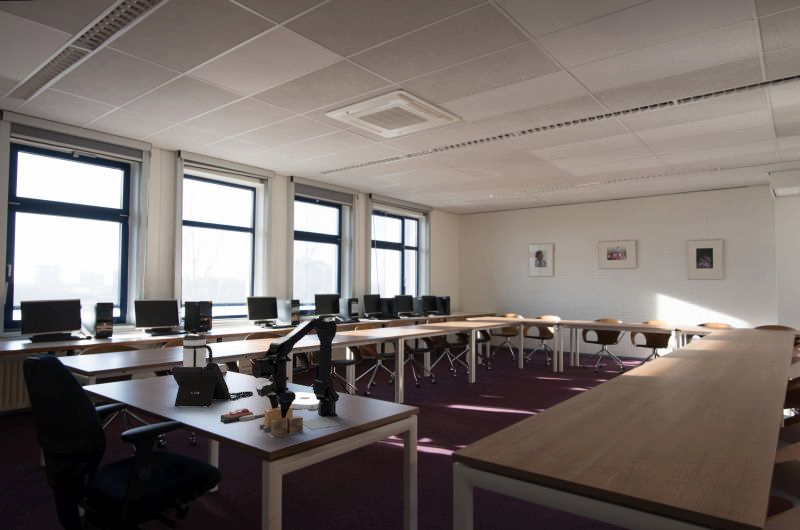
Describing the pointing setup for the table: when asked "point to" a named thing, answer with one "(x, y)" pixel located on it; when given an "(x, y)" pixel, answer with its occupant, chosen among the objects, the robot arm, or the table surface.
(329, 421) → the mat
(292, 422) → the offcut
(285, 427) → the offcut
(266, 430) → the rack
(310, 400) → the white plate
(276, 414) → the light brown flat block
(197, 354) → the coffee press
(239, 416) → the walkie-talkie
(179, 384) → the office phone
